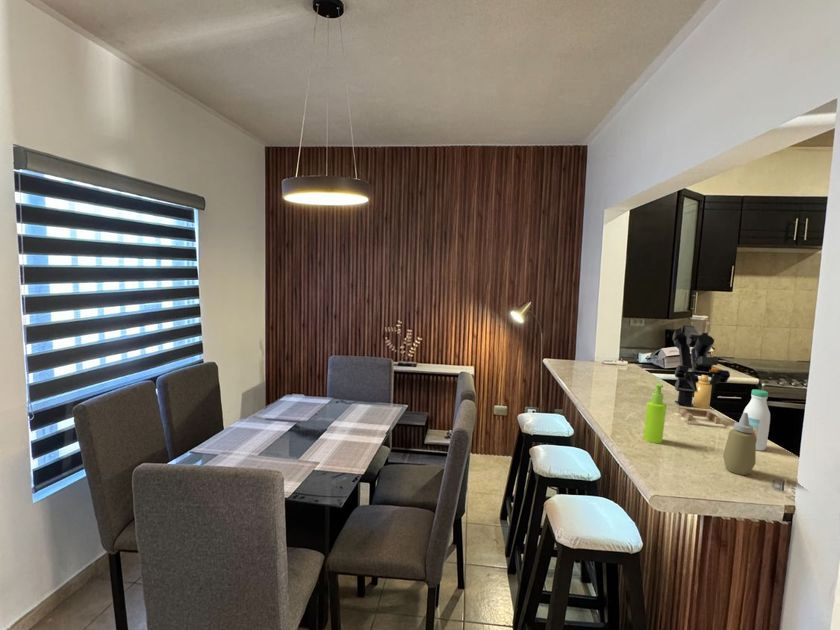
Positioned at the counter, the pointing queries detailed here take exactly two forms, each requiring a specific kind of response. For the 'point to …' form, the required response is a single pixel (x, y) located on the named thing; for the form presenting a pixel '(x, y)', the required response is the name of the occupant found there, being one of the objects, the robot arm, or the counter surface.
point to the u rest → (699, 417)
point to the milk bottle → (759, 417)
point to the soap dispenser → (655, 417)
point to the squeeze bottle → (740, 447)
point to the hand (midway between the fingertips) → (704, 391)
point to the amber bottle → (702, 393)
